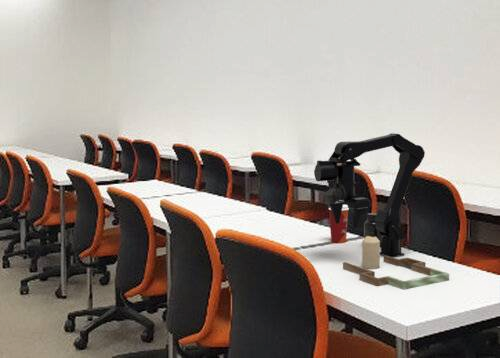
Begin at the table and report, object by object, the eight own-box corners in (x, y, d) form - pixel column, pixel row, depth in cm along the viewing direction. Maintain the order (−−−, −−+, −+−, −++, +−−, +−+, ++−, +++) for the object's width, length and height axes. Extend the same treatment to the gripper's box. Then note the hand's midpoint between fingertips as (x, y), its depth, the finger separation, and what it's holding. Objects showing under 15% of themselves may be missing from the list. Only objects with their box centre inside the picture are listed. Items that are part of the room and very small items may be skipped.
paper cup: (350, 243, 244) (350, 206, 242) (329, 244, 244) (329, 207, 242) (347, 239, 252) (347, 203, 250) (327, 239, 252) (327, 203, 250)
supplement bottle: (373, 243, 244) (373, 211, 243) (386, 246, 239) (387, 214, 237) (360, 245, 240) (360, 213, 239) (373, 249, 235) (373, 216, 233)
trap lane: (394, 259, 218) (394, 253, 218) (458, 278, 195) (458, 271, 194) (332, 270, 205) (332, 264, 205) (393, 291, 182) (393, 284, 181)
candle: (380, 265, 211) (381, 235, 210) (378, 269, 206) (378, 238, 205) (363, 264, 213) (363, 234, 212) (360, 268, 208) (361, 237, 206)
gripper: (309, 179, 221) (310, 224, 223) (344, 184, 205) (344, 233, 207) (335, 176, 227) (335, 220, 229) (371, 181, 211) (371, 229, 213)
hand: (345, 225), depth 219 cm, fingers open, 9 cm apart
